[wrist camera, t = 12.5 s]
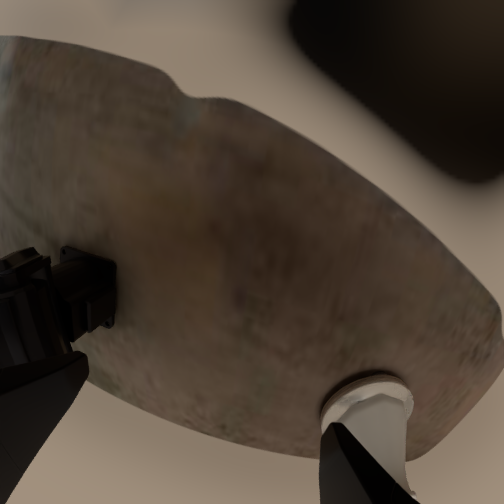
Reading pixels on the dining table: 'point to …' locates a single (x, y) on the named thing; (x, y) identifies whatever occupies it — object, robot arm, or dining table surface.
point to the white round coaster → (365, 396)
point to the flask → (381, 433)
